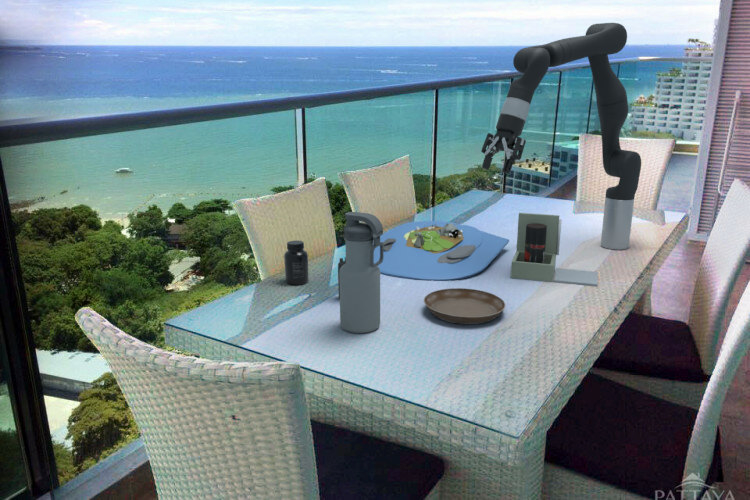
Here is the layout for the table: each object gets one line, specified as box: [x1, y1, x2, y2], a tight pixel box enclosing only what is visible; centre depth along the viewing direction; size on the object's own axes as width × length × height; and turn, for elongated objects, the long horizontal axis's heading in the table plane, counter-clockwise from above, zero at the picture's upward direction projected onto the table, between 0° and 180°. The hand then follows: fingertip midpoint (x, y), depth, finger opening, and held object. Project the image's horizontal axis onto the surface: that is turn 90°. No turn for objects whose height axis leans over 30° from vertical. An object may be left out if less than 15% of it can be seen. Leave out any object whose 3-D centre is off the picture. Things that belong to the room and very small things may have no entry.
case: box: [510, 212, 562, 283], centre depth 191 cm, size 13×13×17 cm
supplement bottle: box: [283, 240, 310, 286], centre depth 185 cm, size 7×7×12 cm
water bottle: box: [338, 211, 384, 334], centre depth 151 cm, size 10×10×28 cm
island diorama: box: [373, 220, 510, 282], centre depth 207 cm, size 45×43×12 cm
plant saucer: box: [423, 287, 506, 325], centre depth 163 cm, size 21×21×3 cm
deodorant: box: [524, 223, 547, 264], centre depth 191 cm, size 6×6×15 cm
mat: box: [553, 267, 599, 287], centre depth 189 cm, size 12×12×1 cm
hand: (495, 170), depth 184 cm, fingers open, 8 cm apart
